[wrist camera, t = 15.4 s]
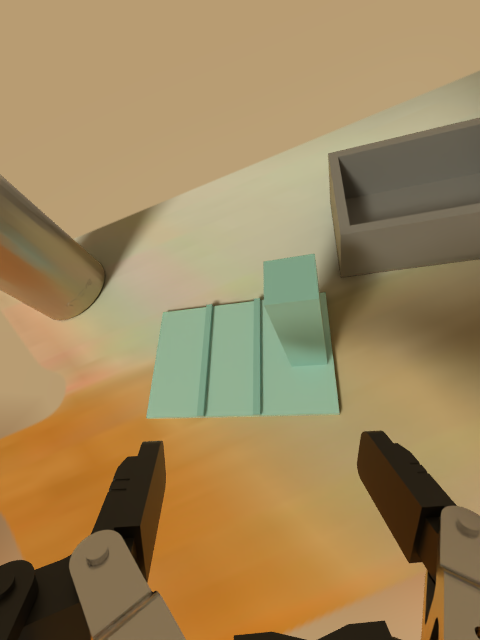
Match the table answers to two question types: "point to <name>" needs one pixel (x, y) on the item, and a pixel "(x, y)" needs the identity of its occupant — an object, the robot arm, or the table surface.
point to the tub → (407, 200)
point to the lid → (250, 353)
